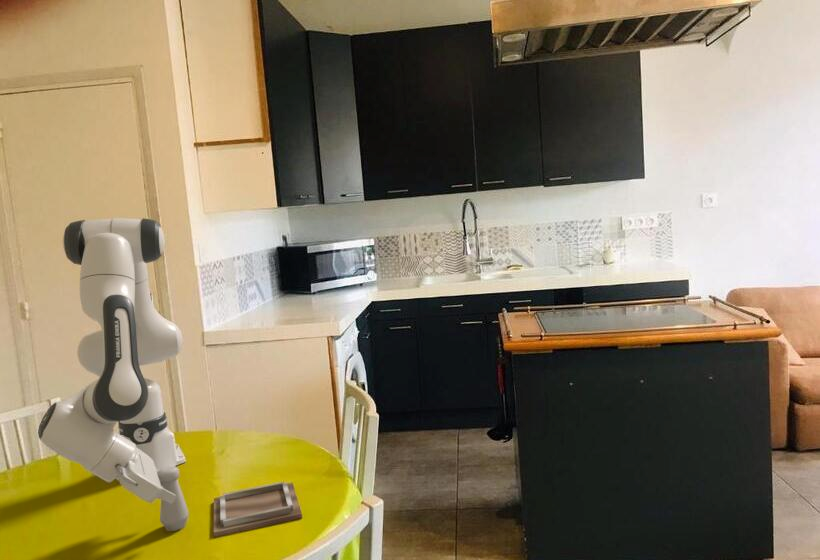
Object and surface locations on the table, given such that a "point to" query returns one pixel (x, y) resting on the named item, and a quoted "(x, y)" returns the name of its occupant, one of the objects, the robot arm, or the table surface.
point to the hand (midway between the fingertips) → (171, 491)
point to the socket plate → (255, 508)
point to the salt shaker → (177, 511)
